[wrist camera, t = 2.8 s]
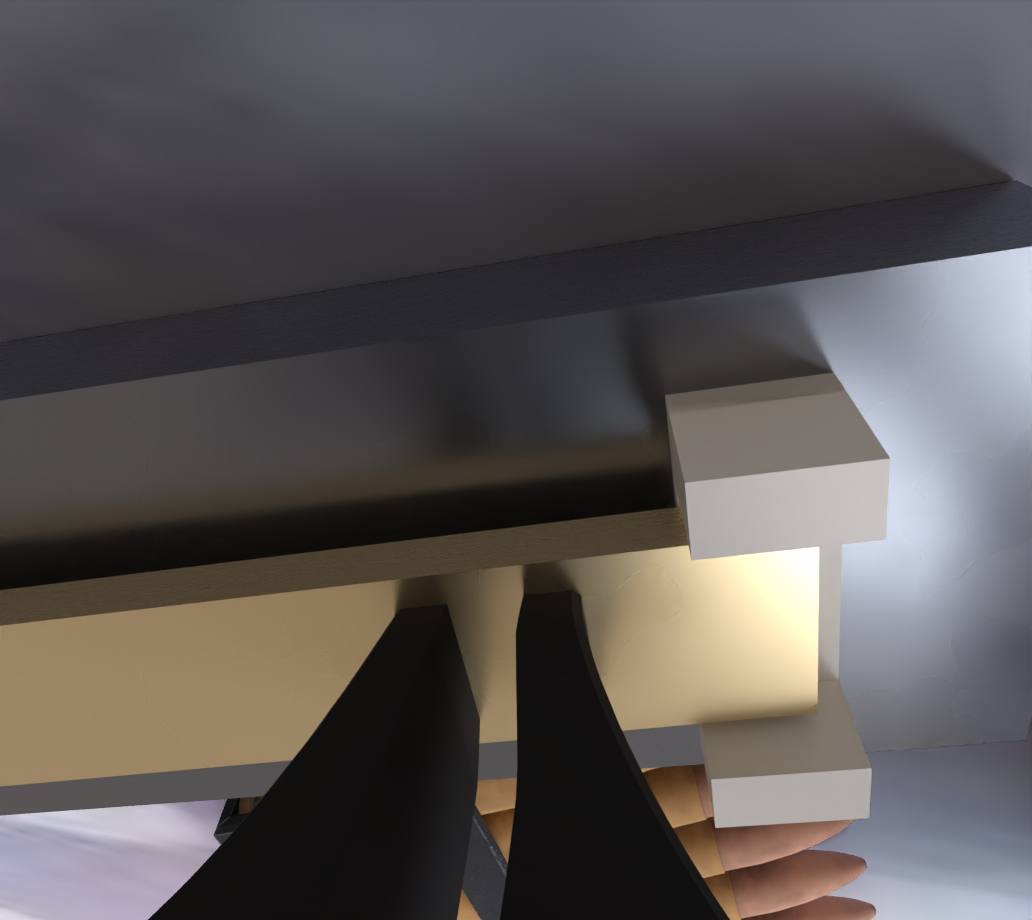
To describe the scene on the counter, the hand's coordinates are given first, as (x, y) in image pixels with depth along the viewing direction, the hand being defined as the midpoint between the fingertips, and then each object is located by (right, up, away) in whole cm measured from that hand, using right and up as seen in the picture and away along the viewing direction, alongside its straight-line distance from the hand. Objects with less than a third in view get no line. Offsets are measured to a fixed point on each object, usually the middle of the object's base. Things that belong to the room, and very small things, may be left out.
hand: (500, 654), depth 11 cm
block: (-2, +2, +4) cm, 4 cm away
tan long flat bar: (-3, 0, +1) cm, 3 cm away
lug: (+3, +1, +1) cm, 4 cm away
